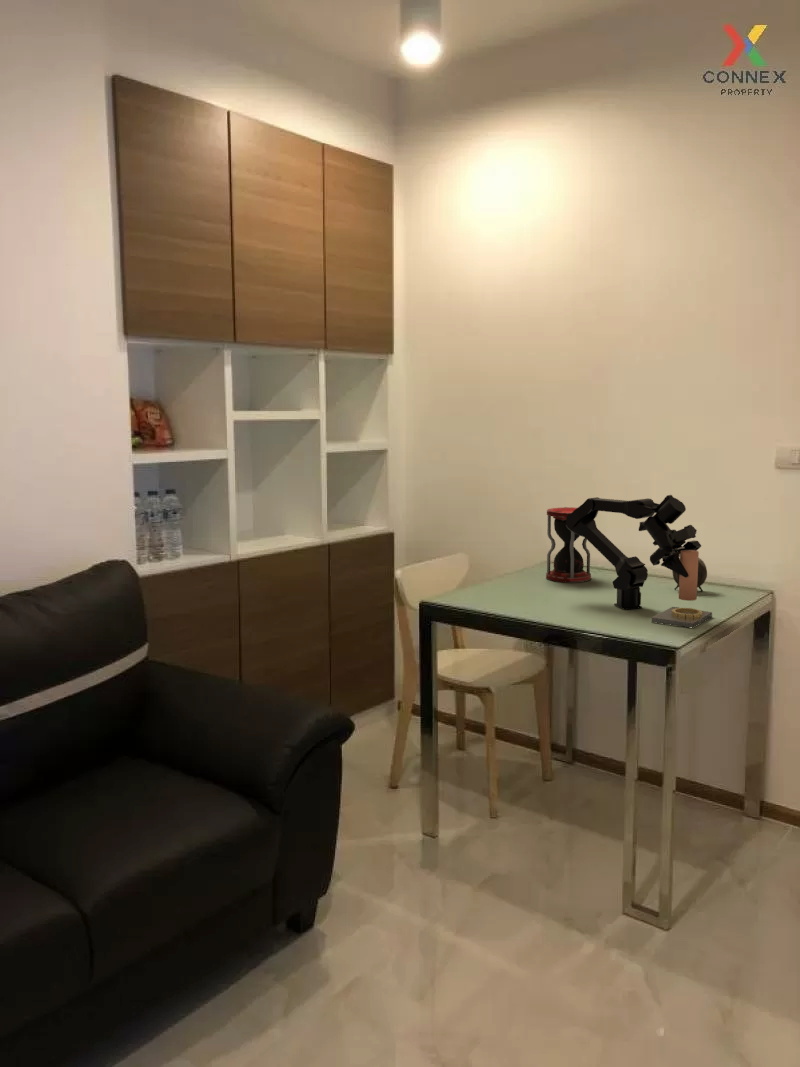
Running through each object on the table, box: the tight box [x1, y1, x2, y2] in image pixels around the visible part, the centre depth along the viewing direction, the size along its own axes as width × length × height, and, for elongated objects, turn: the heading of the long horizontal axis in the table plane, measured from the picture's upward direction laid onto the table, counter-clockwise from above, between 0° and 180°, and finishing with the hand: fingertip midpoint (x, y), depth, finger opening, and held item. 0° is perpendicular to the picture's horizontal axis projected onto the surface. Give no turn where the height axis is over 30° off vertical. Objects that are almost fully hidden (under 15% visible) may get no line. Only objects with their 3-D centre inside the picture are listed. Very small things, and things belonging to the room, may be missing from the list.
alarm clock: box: [671, 556, 708, 592], centre depth 294 cm, size 11×5×16 cm, turn 74°
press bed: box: [651, 606, 713, 629], centre depth 259 cm, size 16×12×2 cm
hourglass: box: [545, 506, 592, 583], centre depth 317 cm, size 16×16×25 cm
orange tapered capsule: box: [678, 550, 700, 602], centre depth 257 cm, size 5×5×14 cm
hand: (692, 575), depth 256 cm, fingers closed on orange tapered capsule, 5 cm apart
